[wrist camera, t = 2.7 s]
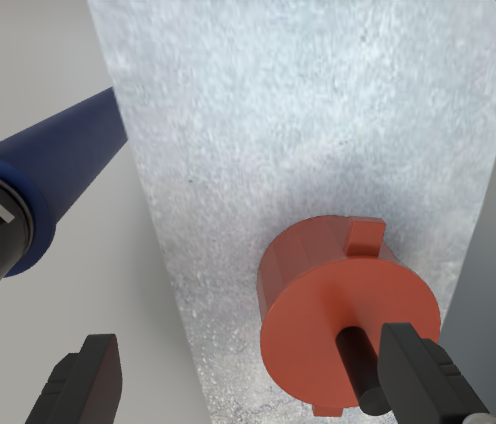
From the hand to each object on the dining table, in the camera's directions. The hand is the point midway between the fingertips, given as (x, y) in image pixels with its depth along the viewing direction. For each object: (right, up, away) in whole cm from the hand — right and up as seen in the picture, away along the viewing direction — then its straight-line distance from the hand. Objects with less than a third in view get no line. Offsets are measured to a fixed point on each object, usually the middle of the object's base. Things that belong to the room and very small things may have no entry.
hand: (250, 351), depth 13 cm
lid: (+8, -5, +20) cm, 22 cm away
